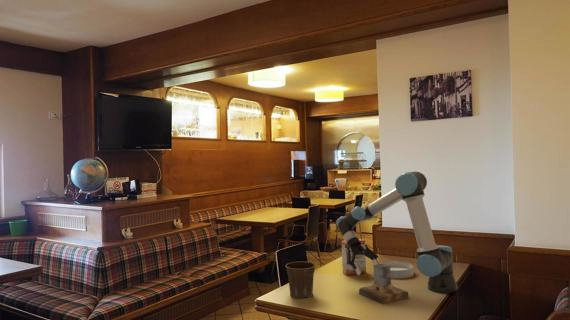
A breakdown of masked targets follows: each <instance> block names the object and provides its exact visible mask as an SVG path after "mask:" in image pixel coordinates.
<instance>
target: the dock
mask: <svg viewBox="0 0 570 320" xmlns="http://www.w3.org/2000/svg"><path fill="white" fill-rule="evenodd" d="M392 286H393V285H392ZM358 294H359V295H361V296H364V297H366V298H368V299H371V300H372V301H375V302H377V303H378V304H379V303H380V304H385V303H386V304H387V303H388V302H393V301H398V300H402V299H405V298H409V292H408V290H404V289H402V288H399V287H396V286H393V290H391V291H386V292H380V291H379V289H378V290H375V289H373V284H371V285H367V286H362V287H360V288H359V289H358Z"/></svg>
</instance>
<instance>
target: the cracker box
mask: <svg viewBox="0 0 570 320" xmlns="http://www.w3.org/2000/svg"><path fill="white" fill-rule="evenodd" d="M358 239H359V240H360V242H361V245H362V246H365V245H366V240H365V239H363V238H358ZM347 248H349V247H348V245H347V243H346V242H345V240H341V260H342V273H343V274H344V275H345V276H349V275H357V273H356V271H355V270H354V269H353V267H352V266H350V264H349V265H348V264H347V253H346V249H347ZM363 252H364V251H363ZM350 254H351V259H352V254H353V252H351V251H350ZM355 262H356V264H357V266H358V268H359V270H360V271H361V273H360V274H366V273H367V263H366V262H367V258H366V256H365V255H362V254H361V255H356V256H355V260H354V263H355Z"/></svg>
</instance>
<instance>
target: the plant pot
mask: <svg viewBox="0 0 570 320" xmlns="http://www.w3.org/2000/svg"><path fill="white" fill-rule="evenodd" d="M316 266H317V265H316V264H315V263H314V262H310V261H292V262H288V263H286V264H285V268H286V273H287V277H288V286H289V287H288V288H289V295H290V296H291V297H293V298H295V299H304V298H310V297H312V296H313V293H314V274H315V267H316Z"/></svg>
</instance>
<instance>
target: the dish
mask: <svg viewBox="0 0 570 320" xmlns="http://www.w3.org/2000/svg"><path fill="white" fill-rule="evenodd" d="M378 263H379V262H378ZM382 263H383V264H386V265H390V274H391V279H407V278H410V277H413V276H414V274H415V271H414V265H413V264H411V263H408V262H405V261H383V262H380V263H379V264H382Z"/></svg>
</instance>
